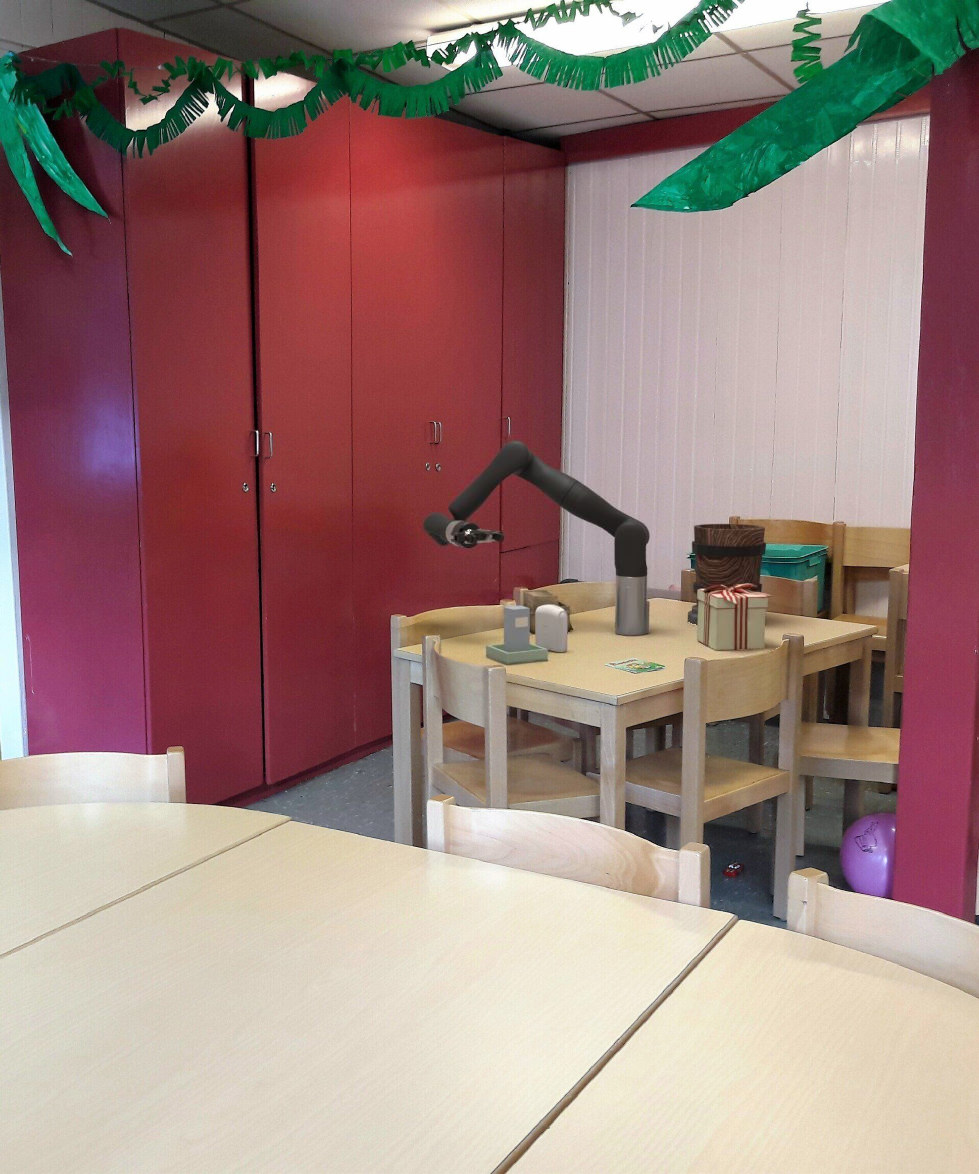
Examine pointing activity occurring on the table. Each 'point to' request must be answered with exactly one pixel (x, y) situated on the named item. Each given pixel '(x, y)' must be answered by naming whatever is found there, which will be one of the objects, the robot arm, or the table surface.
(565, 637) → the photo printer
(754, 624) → the gift box
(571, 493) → the robot arm
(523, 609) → the box
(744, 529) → the wooden barrel
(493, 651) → the tray
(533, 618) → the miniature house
